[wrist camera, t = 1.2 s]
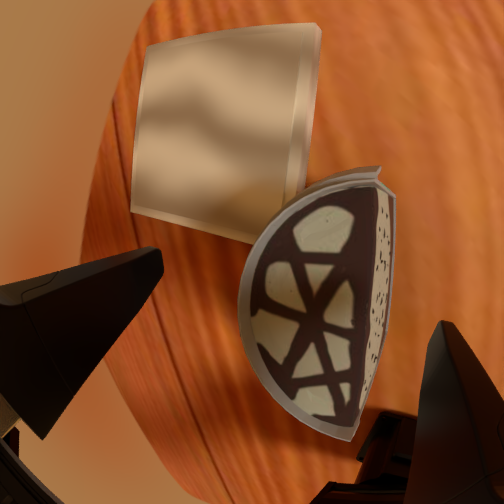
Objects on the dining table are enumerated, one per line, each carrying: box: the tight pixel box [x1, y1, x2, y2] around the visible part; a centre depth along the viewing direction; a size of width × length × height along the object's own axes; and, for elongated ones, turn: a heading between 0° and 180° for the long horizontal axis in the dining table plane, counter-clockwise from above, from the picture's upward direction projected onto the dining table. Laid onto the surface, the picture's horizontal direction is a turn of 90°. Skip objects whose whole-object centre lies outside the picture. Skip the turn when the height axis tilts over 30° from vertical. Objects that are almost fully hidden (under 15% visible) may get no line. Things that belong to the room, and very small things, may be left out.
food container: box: [238, 166, 396, 442], centre depth 17 cm, size 12×6×10 cm, turn 4°
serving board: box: [130, 23, 322, 245], centre depth 23 cm, size 16×16×2 cm
